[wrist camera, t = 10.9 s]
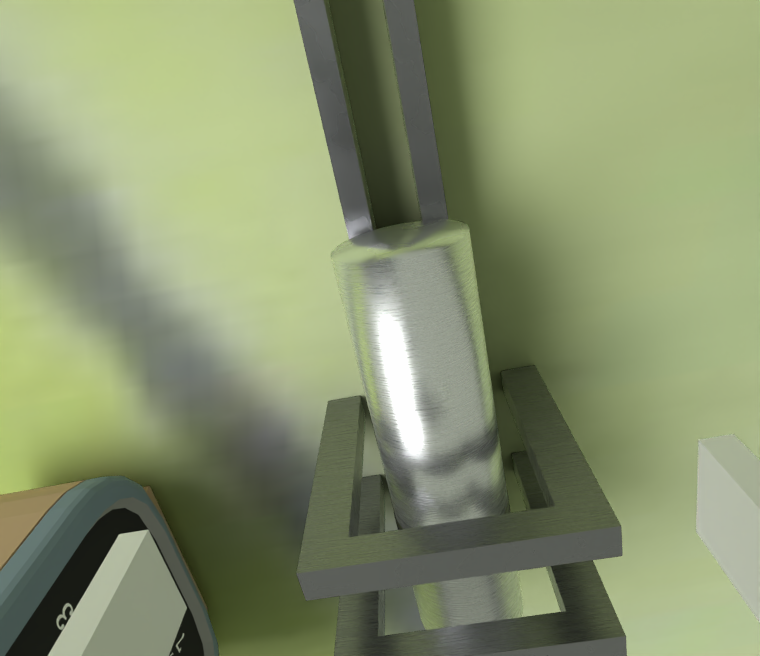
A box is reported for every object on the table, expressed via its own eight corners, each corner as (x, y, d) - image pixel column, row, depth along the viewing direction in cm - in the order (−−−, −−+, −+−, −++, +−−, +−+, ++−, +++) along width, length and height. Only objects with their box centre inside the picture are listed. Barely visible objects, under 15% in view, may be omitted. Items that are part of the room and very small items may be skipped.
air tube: (336, 236, 27) (322, 275, 21) (460, 211, 26) (480, 244, 21) (416, 568, 35) (421, 658, 30) (511, 555, 35) (534, 644, 29)
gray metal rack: (180, -125, 23) (-35, -346, 11) (474, -204, 22) (575, -540, 10) (371, 556, 39) (365, 765, 27) (552, 529, 37) (630, 736, 25)
